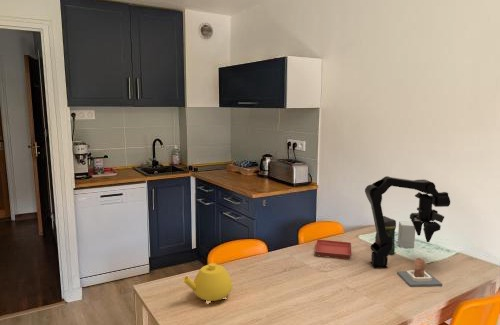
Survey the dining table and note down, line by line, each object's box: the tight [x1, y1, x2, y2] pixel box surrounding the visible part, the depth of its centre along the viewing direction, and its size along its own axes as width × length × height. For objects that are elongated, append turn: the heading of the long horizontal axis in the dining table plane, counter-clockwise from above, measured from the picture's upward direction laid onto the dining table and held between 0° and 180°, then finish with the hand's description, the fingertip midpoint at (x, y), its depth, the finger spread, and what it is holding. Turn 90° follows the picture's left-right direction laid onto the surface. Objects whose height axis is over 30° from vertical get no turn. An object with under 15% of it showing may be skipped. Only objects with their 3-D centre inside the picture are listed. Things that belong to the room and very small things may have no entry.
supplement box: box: [397, 221, 416, 249], centre depth 208 cm, size 7×7×13 cm
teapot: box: [182, 262, 233, 302], centre depth 151 cm, size 20×16×14 cm
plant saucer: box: [314, 239, 353, 259], centre depth 200 cm, size 18×18×3 cm
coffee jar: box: [383, 215, 397, 256], centre depth 199 cm, size 10×8×19 cm
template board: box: [396, 269, 443, 288], centre depth 168 cm, size 14×13×2 cm
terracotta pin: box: [414, 257, 426, 277], centre depth 167 cm, size 4×4×8 cm
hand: (423, 238), depth 182 cm, fingers open, 9 cm apart
